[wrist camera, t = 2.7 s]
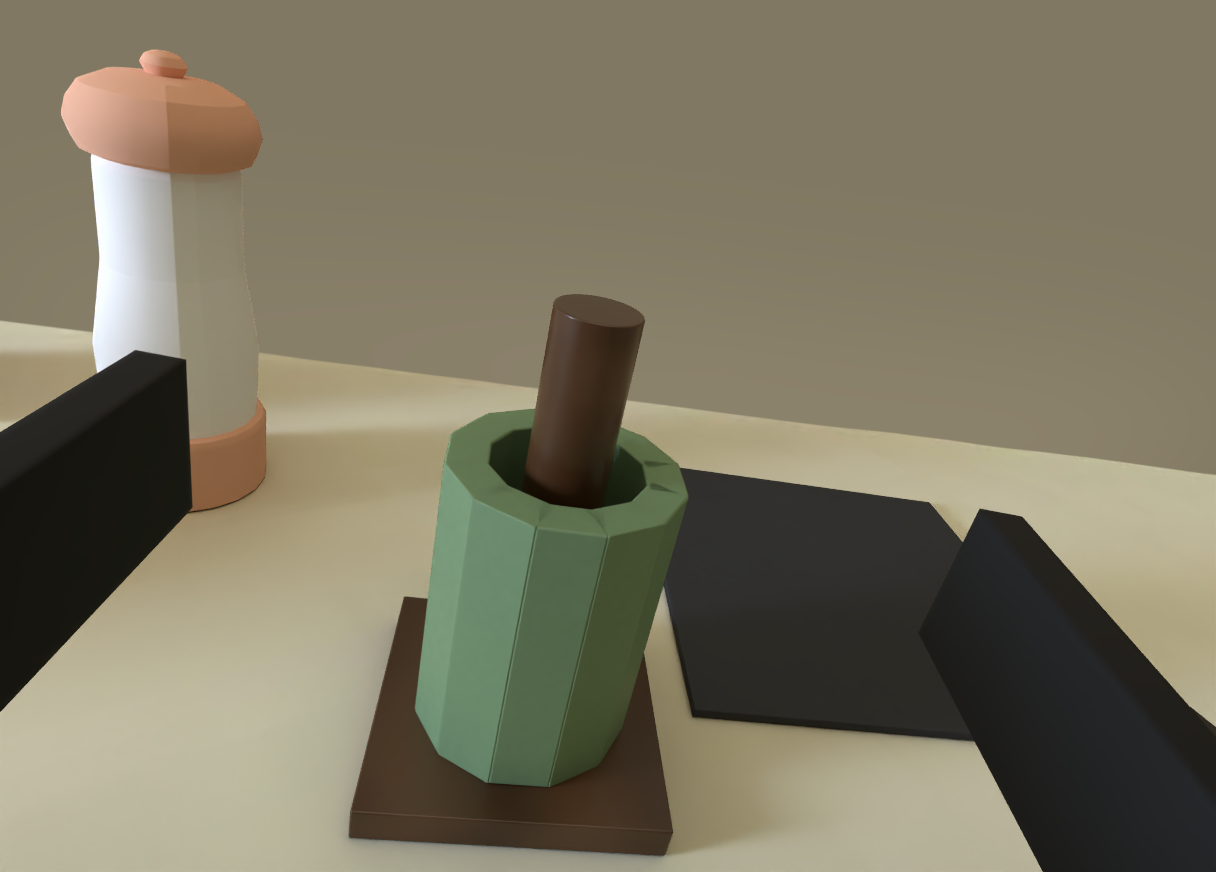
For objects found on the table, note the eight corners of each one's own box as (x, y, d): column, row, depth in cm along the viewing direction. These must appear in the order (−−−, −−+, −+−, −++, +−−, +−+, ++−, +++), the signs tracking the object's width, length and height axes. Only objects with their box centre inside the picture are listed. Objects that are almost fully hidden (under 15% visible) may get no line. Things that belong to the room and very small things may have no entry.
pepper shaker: (293, 457, 41) (299, 72, 33) (210, 528, 35) (191, 70, 26) (166, 425, 42) (140, 36, 33) (61, 489, 35) (-6, 25, 27)
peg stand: (633, 641, 34) (731, 288, 27) (665, 856, 25) (825, 413, 18) (401, 618, 32) (440, 236, 25) (347, 838, 23) (383, 344, 16)
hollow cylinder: (612, 638, 32) (667, 426, 27) (630, 794, 25) (706, 548, 21) (431, 620, 31) (459, 395, 26) (401, 778, 24) (431, 514, 20)
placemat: (927, 507, 51) (929, 502, 51) (1129, 754, 34) (1134, 748, 33) (637, 467, 48) (639, 461, 48) (692, 716, 30) (694, 709, 30)
